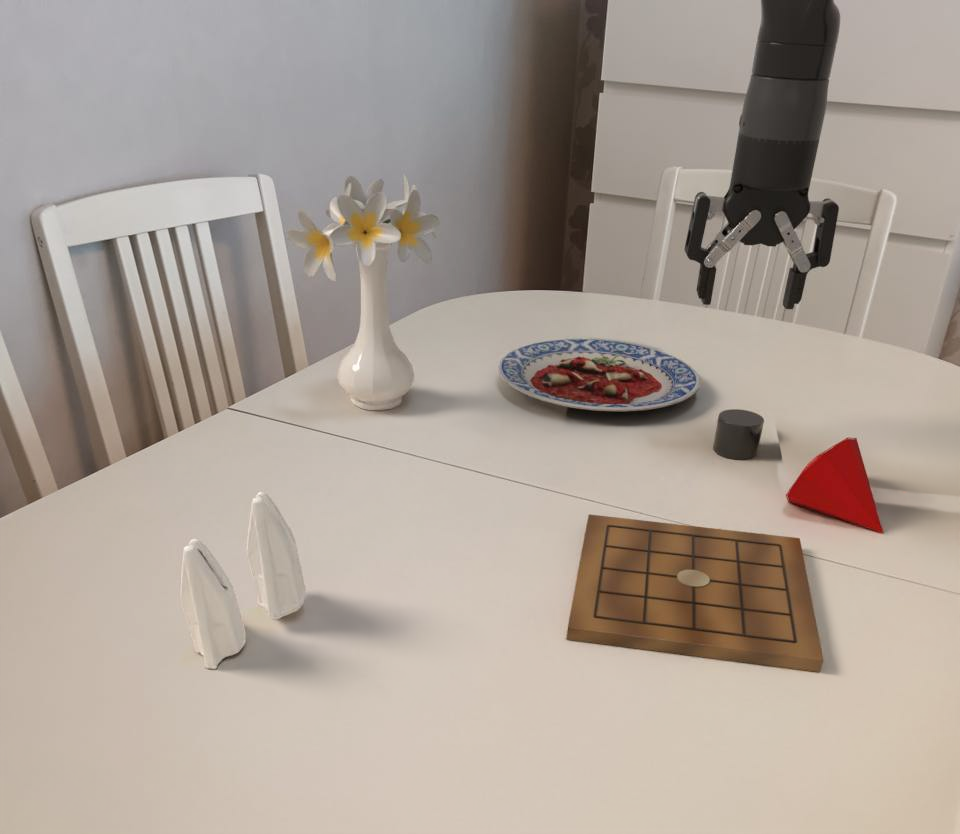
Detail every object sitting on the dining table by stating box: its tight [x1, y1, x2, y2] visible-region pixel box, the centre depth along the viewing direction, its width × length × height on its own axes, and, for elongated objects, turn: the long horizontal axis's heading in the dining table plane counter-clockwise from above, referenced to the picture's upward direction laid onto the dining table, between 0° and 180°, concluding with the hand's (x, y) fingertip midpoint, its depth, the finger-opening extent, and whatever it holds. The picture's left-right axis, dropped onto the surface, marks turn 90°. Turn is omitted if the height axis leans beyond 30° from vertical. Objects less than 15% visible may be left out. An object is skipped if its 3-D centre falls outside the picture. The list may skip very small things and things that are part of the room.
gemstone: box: [785, 437, 885, 534], centre depth 97 cm, size 9×9×10 cm
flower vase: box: [285, 173, 441, 411], centre depth 111 cm, size 13×18×25 cm
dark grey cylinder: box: [712, 408, 765, 461], centre depth 109 cm, size 5×5×4 cm
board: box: [566, 513, 824, 673], centre depth 85 cm, size 20×20×1 cm
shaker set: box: [179, 491, 307, 670], centre depth 75 cm, size 12×4×11 cm, turn 143°
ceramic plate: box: [498, 338, 701, 412], centre depth 125 cm, size 26×26×3 cm
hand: (746, 305), depth 101 cm, fingers open, 8 cm apart
